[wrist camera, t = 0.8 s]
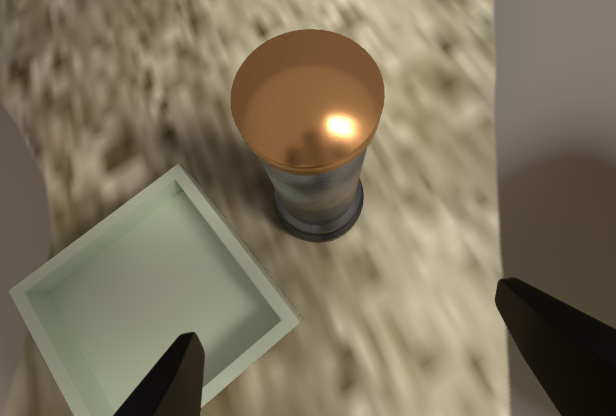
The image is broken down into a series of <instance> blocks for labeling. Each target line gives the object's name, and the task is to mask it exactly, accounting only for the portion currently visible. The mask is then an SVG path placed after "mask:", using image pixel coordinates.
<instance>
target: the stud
mask: <svg viewBox="0 0 616 416" xmlns="http://www.w3.org/2000/svg"><path fill="white" fill-rule="evenodd" d="M363 200H364V194H363V187H362V184H361V198H360V202H359V205H358V208H357V211H356V213H355V215H354V217H353V218H352V219H351V221H350V222H349V223H348V224H347V225H346V226H345V227H343V228H342V229H341V230H339V231H337V232H335V233H332V234H329V235H324V236H312V235H307V234H304V233H301V232H299V231H297V230H296V229H294V228H293V227H292V226H290V225H289V224H288V223H287V222H286V220H285V219H284V217H283V216H282V214H281V212H280V211H279V209H278V207H277V204H276V201H275V197H274V206H275V210H276V213H277V215H278V217H279V219H280V221H281V222H282V224H283V225H284V226H285V228H286V229H287V230H288V231H289V232H290V233H292V234H293V235H295V236H296V237H298V238H300V239H302V240H305V241H309V242H317V243H321V242H328V241H332V240H335V239H337V238H339V237H341V236H343V235H344V234H346V233H347V232H348V231H349V230H350V229H351V228H352V227H353V226H354V224H355V223H356V221H357V220H358V217H359V215H360V213H361V210H362V206H363Z"/></svg>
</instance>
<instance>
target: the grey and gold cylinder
mask: <svg viewBox="0 0 616 416" xmlns="http://www.w3.org/2000/svg"><path fill="white" fill-rule="evenodd" d="M384 97H385V96H384V84H383V79H382V76H381V73H380V70H379V68H378V66H377V65H376V63H375V61H374V60H373V59H372V57H371V56H370V55H369V54H368V53H367V52H366V50H365V49H363V48H362V47H361V46H360V45H358V44H357V43H356V42H354V41H352V40H351V39H349V38H347V37H345V36H342V35H340V34H337V33H334V32H330V31H325V30H315V29H308V30H297V31H292V32H288V33H284V34H282V35H279V36H276V37H274V38H272V39H270V40H268V41H266V42H265V43H263V44H262V45H260V46H259V47H258V48H257V49H255V50H254V51H253V52H252V53H251V54H250V55H249V56H248V57H247V58H246V60H245V61H244V62H243V64H242V65H241V67H240V68H239V70H238V72H237V74H236V76H235V79H234V82H233V86H232V90H231V110H232V115H233V118H234V121H235V124H236V126H237V128H238V130H239V131H240V133H241V135H242V137H243V139H244V141H245V142H246V144H247V146H248V147H249V148H250V150H251V151H252V152H253V153H254V154H255V155H256V156H257V157H258V158H259V159H260V160H261V162H262V164H263V166H264V168H265V170H266V172H267V174H268V176H269V178H270V180H271V182H272V184H273V186H274V197H275V201H276V204H277V207H278V209H279V211H280V212H281V214H282V216H283V217H284V219H285V220H286V222H287V223H288V224H289V225H290V226H292V227H293V228H294V229H296V230H297V231H299V232H301V233H304V234H307V235H312V236H324V235H329V234H332V233H335V232H337V231H339V230H341V229H342V228H343V227H345V226H346V225H347V224H348V223H349V222H350V221H351V219H352V218H353V217H354V215H355V213H356V211H357V208H358V205H359V202H360V198H361V181H360V178H359V177H360V173H361V169H362V165H363V161H364V157H365V153H366V149H367V146H368V145H369V144H370V142H371V140H372V139H373V137H374V135H375V132H376V130H377V127H378V124H379V120H380V117H381V113H382V109H383V105H384Z"/></svg>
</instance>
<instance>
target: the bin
mask: <svg viewBox="0 0 616 416" xmlns="http://www.w3.org/2000/svg"><path fill="white" fill-rule="evenodd" d="M8 292H9V293H10V296H11V297H12V299H13V301H14V303H15V305H16V307H17V309H18V311H19V312H20V314H21V316H22V318H23V320H24V322H25V324H26V326H27V328H28V330H29V332H30V333H31V335H32V337H33V339H34V341H35V343H36V345H37V347H38V349H39V351H40V352H41V354H42V356H43V358H44V360H45V362H46V364H47V366H48V368H49V370H50V371H51V373H52V375H53V377H54V379H55V381H56V383H57V385H58V387H59V388H60V390H61V392H62V394H63V396H64V398H65V400H66V402H67V404H68V406H69V407H70V409H71V411H72V413H73V415H74V416H113V415H114V413H115V412H116V411H117V410H118V409H119V407H120V406H121V405H122V404H123V403H124V401H125V400H126V399H127V398H128V396H129V395H130V394H131V393H132V392H133V390H134V389H135V388H136V387H137V386H138V384H139V383H140V382H141V381H142V380H143V378H144V377H145V376H146V375H147V374H148V372H149V371H150V370H151V369H152V367H153V366H154V365H155V364H156V363H157V361H158V360H159V359H160V358H161V357H162V355H163V354H164V353H165V352H166V351H167V349H168V348H169V347H170V346H171V344H172V343H173V342H174V341H175V340H176V338H177V337H178V336H179V335H180V334H182V333H187V332H195V333H196V334H197V336H198V338H199V340H200V342H201V344H202V346H203V348H204V351H205V363H204V375H203V388H202V401H201V408H202V407H203V406H204V405H205V404H206V403H207V402H209V401H210V400H211V399H212V398H213V397H214V396H216V395H217V394H218V393H219V392H220V391H221V390H222V389H224V388H225V387H226V386H227V385H228V384H229V383H231V382H232V381H233V380H234V379H235V378H236V377H238V376H239V375H240V374H241V373H242V372H243V371H244V370H246V369H247V368H248V367H249V366H250V365H251V364H253V363H254V362H255V361H256V360H257V359H258V358H260V357H261V356H262V355H263V354H264V353H265V352H266V351H268V350H269V349H270V348H271V347H272V346H273V345H275V344H276V343H277V342H278V341H279V340H280V339H282V338H283V337H284V336H285V335H286V334H287V333H289V332H290V331H291V330H292V329H293V328H294V327H295V326H297V325H298V324H299V323H300V322H301V321H302V320H303V318H302V317H301V316H300V314H299V313H298V312H297V311H296V309H295V308H294V307H293V305H292V304H291V303H290V301H289V300H288V299H287V298H286V296H285V295H284V294H283V292H282V291H281V290H280V289H279V287H278V286H277V285H276V283H275V282H274V281H273V280H272V278H271V277H270V276H269V274H268V273H267V272H266V270H265V269H264V268H263V267H262V265H261V264H260V263H259V261H258V260H257V259H256V258H255V256H254V255H253V254H252V252H251V251H250V250H249V249H248V247H247V246H246V245H245V243H244V242H243V241H242V239H241V238H240V237H239V236H238V234H237V233H236V232H235V230H234V229H233V228H232V227H231V225H230V224H229V223H228V221H227V220H226V219H225V217H224V216H223V215H222V214H221V212H220V211H219V210H218V208H217V207H216V206H215V205H214V203H213V202H212V201H211V199H210V198H209V197H208V196H207V194H206V193H205V192H204V190H203V189H202V188H201V186H200V185H199V184H198V183H197V181H196V180H195V179H194V177H193V176H192V175H191V174H189V173H188V172H187V171H186V170H185V169H184V168H183V167H181V166H180V165H179V164H177V165H176V166H174V167H173V168H172V169H170V170H169V171H168V172H166V173H165V174H164V175H162V176H161V177H160V178H158V179H157V180H156V181H154V182H153V183H152V184H150V185H149V186H148V187H146V188H145V189H144V190H142V191H141V192H140V193H138V194H137V195H136V196H134V197H133V198H132V199H130V200H129V201H128V202H126V203H125V204H124V205H122V206H121V207H120V208H118V209H117V210H116V211H114V212H113V213H112V214H110V215H109V216H108V217H106V218H105V219H104V220H102V221H101V222H100V223H98V224H97V225H96V226H94V227H93V228H92V229H90V230H89V231H88V232H86V233H85V234H84V235H82V236H81V237H80V238H78V239H77V240H76V241H74V242H73V243H72V244H70V245H69V246H68V247H66V248H65V249H64V250H62V251H61V252H60V253H58V254H57V255H56V256H54V257H53V258H52V259H50V260H49V261H48V262H46V263H45V264H44V265H42V266H41V267H40V268H38V269H37V270H36V271H34V272H33V273H32V274H30V275H29V276H27V277H26V278H25V279H24V280H22V281H21V282H19V283H18V284H17V285H15V286H14V287H13V288H12V289H10V290H9V291H8Z"/></svg>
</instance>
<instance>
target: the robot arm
mask: <svg viewBox="0 0 616 416" xmlns="http://www.w3.org/2000/svg"><path fill="white" fill-rule="evenodd" d="M495 303H496V306H497V309H498V311H499V312H500V314H501V316H502V318H503V320H504V322H505V324H506V326H507V328H508V330H509V332H510V334H511V335H512V337H513V339H514V341H515V343H516V345H517V347H518V349H519V351H520V352H521V354H522V356H523V358H524V359H525V361H526V363H527V364H528V366H529V367H530V369H531V370H532V372H533V373H534V375H535V376H536V378H537V380H538V381H539V383H540V384H541V386H542V387H543V388H544V390H545V392H546V393H547V395H548V396H549V398H550V399H551V401H552V402H553V404H554V405H555V407H556V409H557V410H558V412H559V413H560V415H561V416H616V329H614V328H613V327H611V326H609V325H607V324H605V323H603V322H601V321H599V320H597V319H595V318H593V317H591V316H590V315H587V314H586V313H584V312H582V311H580V310H578V309H576V308H574V307H572V306H570V305H568V304H566V303H564V302H562V301H560V300H558V299H557V298H555V297H553V296H550V295H549V294H547V293H545V292H543V291H541V290H539V289H537V288H535V287H533V286H531V285H529V284H527V283H525V282H524V281H522V280H520V279H518V278H515V277H508V278H502V279H500V280H499V281H498V284H497V290H496V295H495ZM204 363H205V351H204V348H203V346H202V344H201V342H200V340H199V338H198V336H197V334H196V333H195V332H187V333H182V334H180V335H179V336H178V337H177V338H176V340H175V341H174V342H173V343H172V344H171V346H170V347H169V348H168V349H167V351H166V352H165V353H164V354H163V355H162V357H161V358H160V359H159V360H158V361H157V363H156V364H155V365H154V366H153V367H152V369H151V370H150V371H149V372H148V374H147V375H146V376H145V377H144V378H143V380H142V381H141V382H140V383H139V384H138V386H137V387H136V388H135V389H134V390H133V392H132V393H131V394H130V395H129V396H128V398H127V399H126V400H125V401H124V403H123V404H122V405H121V406H120V407H119V409H118V410H117V411H116V412H115V413H114V415H113V416H200V411H201V401H202V388H203V375H204Z"/></svg>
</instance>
